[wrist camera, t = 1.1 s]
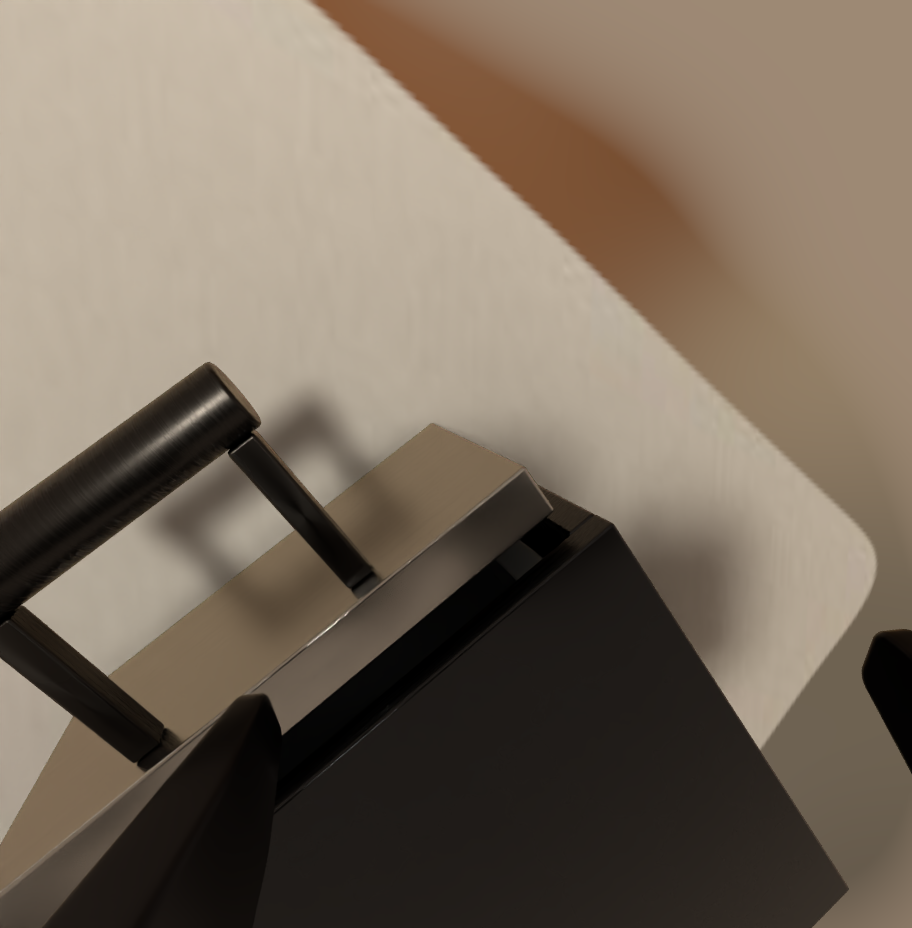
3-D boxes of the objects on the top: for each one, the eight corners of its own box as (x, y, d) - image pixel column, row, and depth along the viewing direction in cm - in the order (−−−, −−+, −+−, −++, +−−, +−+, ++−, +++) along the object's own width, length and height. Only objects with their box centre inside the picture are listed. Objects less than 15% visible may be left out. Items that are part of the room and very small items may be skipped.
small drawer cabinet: (119, 725, 18) (-27, 1066, 9) (468, 447, 19) (614, 522, 11) (381, 939, 22) (444, 1303, 14) (648, 698, 23) (851, 890, 15)
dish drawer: (-62, 573, 15) (-355, 763, 8) (333, 286, 16) (370, 239, 9) (353, 913, 20) (389, 1194, 14) (618, 676, 22) (770, 823, 15)
